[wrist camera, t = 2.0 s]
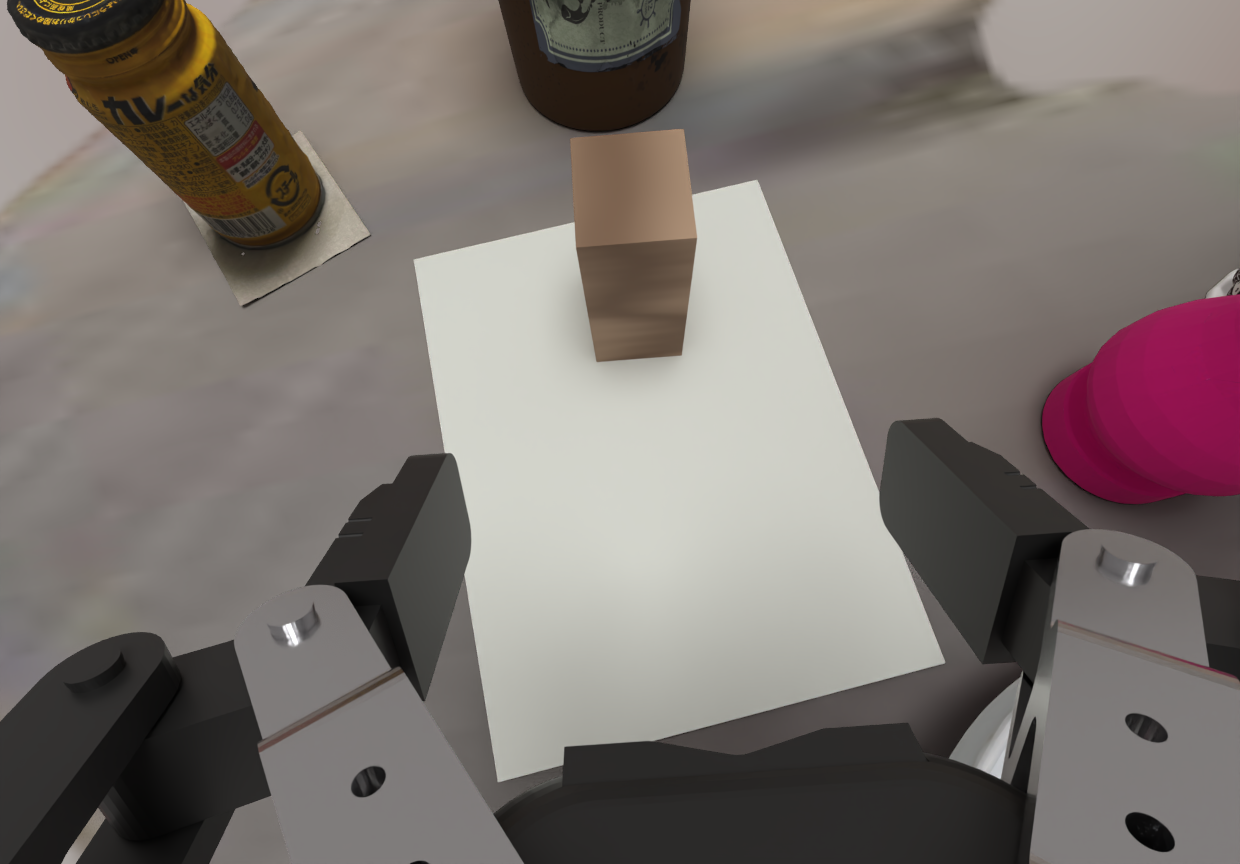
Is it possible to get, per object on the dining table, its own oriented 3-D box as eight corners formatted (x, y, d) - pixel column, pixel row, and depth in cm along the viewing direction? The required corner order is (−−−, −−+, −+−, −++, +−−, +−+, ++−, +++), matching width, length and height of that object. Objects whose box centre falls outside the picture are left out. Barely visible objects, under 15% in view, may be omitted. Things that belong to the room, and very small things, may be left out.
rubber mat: (756, 185, 32) (757, 179, 32) (940, 662, 24) (945, 663, 24) (416, 264, 31) (413, 259, 31) (500, 779, 24) (498, 782, 23)
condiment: (302, 133, 34) (132, -116, 23) (372, 236, 32) (220, 17, 21) (182, 197, 33) (-60, -29, 22) (244, 309, 31) (11, 121, 20)
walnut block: (672, 266, 30) (682, 122, 22) (681, 355, 29) (697, 237, 20) (591, 273, 30) (569, 132, 22) (596, 362, 29) (575, 247, 20)
